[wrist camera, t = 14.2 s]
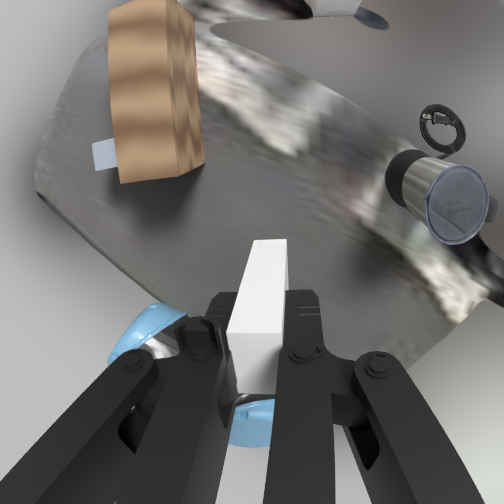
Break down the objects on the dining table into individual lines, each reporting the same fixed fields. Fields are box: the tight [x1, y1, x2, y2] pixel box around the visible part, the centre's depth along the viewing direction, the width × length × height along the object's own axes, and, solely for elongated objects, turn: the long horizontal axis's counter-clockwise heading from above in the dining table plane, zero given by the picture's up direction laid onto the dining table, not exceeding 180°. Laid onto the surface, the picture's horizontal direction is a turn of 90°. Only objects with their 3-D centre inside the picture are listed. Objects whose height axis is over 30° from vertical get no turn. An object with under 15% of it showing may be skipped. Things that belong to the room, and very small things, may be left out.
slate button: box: [92, 138, 118, 171], centre depth 35 cm, size 4×9×4 cm, turn 94°
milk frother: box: [386, 104, 498, 245], centre depth 29 cm, size 14×16×15 cm
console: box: [108, 0, 205, 184], centre depth 32 cm, size 24×8×11 cm, turn 4°
